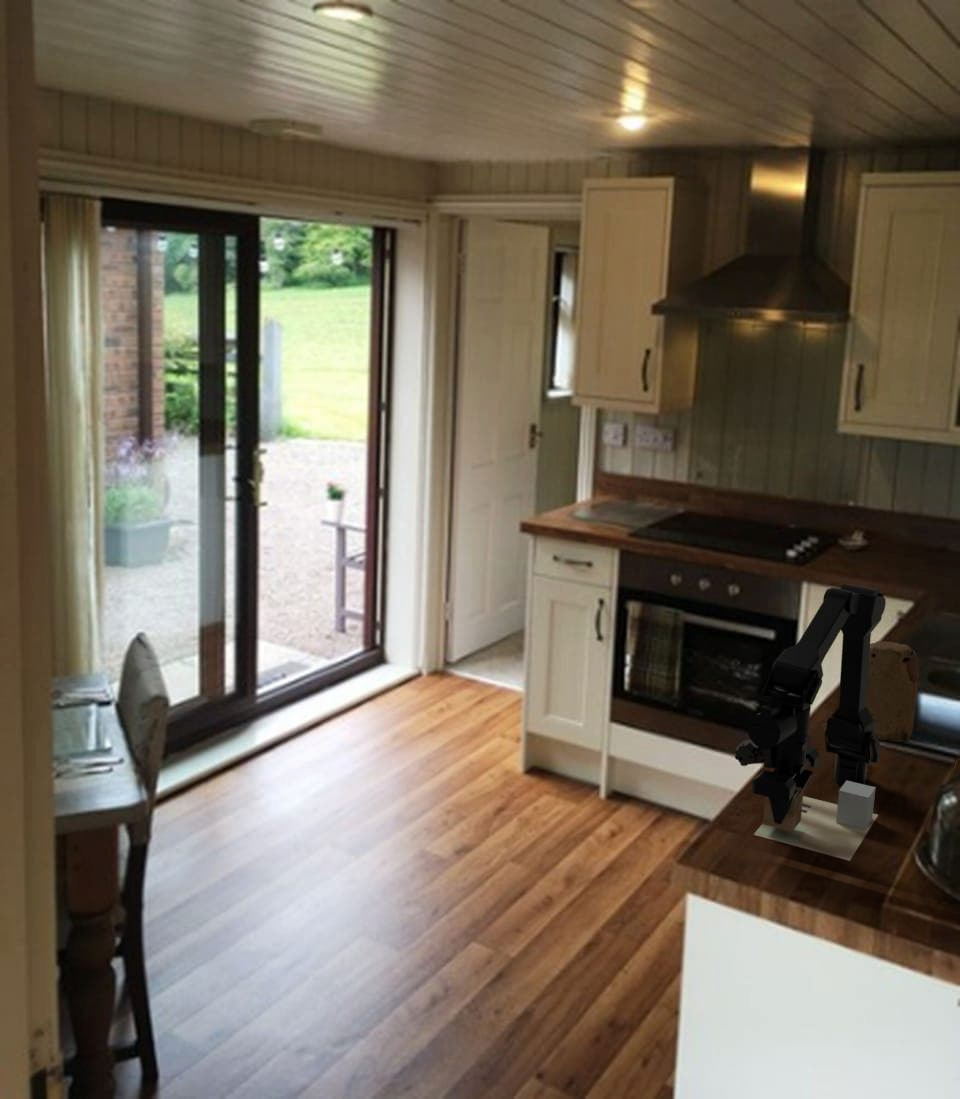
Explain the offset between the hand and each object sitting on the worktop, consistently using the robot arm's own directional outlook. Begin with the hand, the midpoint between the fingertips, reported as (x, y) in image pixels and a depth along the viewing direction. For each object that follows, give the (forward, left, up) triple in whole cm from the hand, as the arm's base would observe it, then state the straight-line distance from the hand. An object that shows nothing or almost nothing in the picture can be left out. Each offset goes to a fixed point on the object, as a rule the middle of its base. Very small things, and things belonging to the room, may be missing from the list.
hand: (782, 817), depth 193 cm
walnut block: (0, 0, -1) cm, 1 cm away
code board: (-6, +4, -4) cm, 8 cm away
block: (-58, +4, -4) cm, 58 cm away
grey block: (-11, +9, -2) cm, 15 cm away
